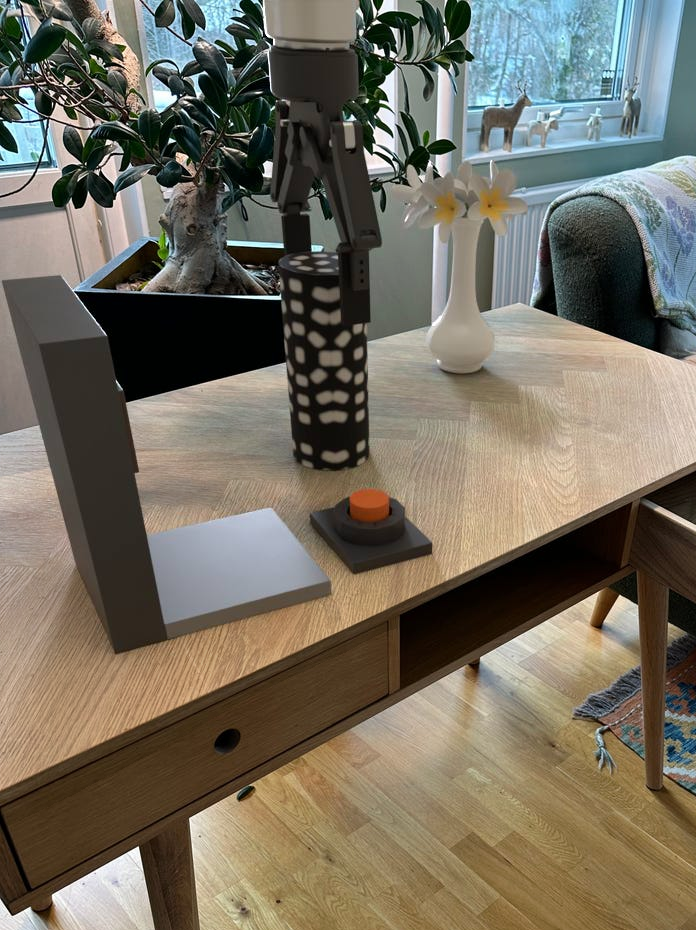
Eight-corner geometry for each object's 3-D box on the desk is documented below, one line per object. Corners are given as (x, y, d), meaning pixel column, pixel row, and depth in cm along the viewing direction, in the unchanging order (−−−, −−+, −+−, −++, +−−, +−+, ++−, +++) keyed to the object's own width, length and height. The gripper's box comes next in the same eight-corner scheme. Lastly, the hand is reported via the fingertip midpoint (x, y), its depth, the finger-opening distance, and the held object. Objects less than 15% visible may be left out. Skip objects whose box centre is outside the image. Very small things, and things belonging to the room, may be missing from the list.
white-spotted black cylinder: (325, 431, 101) (316, 246, 89) (384, 450, 98) (382, 262, 86) (277, 456, 96) (259, 263, 84) (338, 478, 93) (329, 280, 80)
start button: (343, 510, 82) (343, 493, 81) (378, 502, 84) (378, 485, 83) (360, 527, 80) (359, 510, 79) (395, 519, 81) (395, 502, 80)
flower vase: (422, 338, 128) (426, 144, 113) (535, 367, 122) (555, 164, 106) (370, 363, 119) (367, 155, 104) (489, 396, 112) (503, 179, 97)
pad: (309, 523, 85) (307, 495, 83) (384, 506, 88) (384, 479, 87) (353, 574, 78) (352, 546, 77) (432, 553, 82) (433, 525, 80)
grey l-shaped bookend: (75, 565, 77) (1, 280, 62) (272, 520, 85) (247, 258, 70) (115, 654, 68) (38, 343, 53) (331, 594, 76) (316, 310, 61)
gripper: (422, 60, 68) (419, 336, 81) (297, 32, 84) (312, 265, 97) (331, 60, 64) (344, 348, 77) (220, 30, 81) (246, 272, 94)
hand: (326, 302), depth 87 cm, fingers open, 13 cm apart
